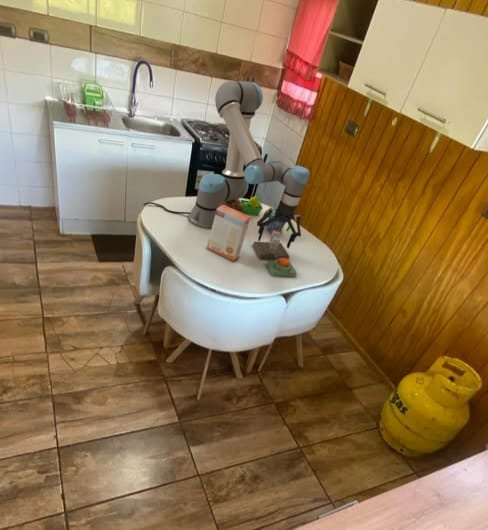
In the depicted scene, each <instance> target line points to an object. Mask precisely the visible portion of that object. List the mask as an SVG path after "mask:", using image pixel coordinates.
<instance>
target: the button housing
mask: <svg viewBox="0 0 488 530" xmlns="http://www.w3.org/2000/svg"><path fill="white" fill-rule="evenodd" d="M266 261H267V262H266V264H265V265H266V268H267V269H268V270H269V273H270V275H271V276H272V277H293V278H294V277H296V276H297V273H298V272H297V270H296V269H295V267H294V266H293V265H292V263H291V262H289V265H288V267H283V266H281V265H279V264H278V262H279V259H276V260H266Z"/></svg>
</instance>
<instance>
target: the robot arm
mask: <svg viewBox="0 0 488 530" xmlns="http://www.w3.org/2000/svg"><path fill="white" fill-rule="evenodd" d="M263 99H264V96H263V91H262V88H261V87H260V85H259V84H258V83H256V82H253V81H243V80H241V81H240V80H227V81H224V82H223V83H221V85H219V87H218V89H217V90H216V93H215V97H214V100H215V101H214V102H215V103H214V104H215V108H216V111H217V113H218V115H219V117H220V118H221V119H223V120H224V123H225V125H226V128H227V129H228V131H229V140H228V147H227V154H226V155H227V156H226V161H225V163H226V164H225V168H224V169H223V170H222V171H221V174H218V173H206V174H203V176H202V177H201V179H200V182H199V184H198V190H197V195H196V199H195V204H194V206H193V207H192V209H191V210H190V212H189V211H175V210H170V209H168V208H166V207H165V206H164V205H162V204H159V203H157V202H151V201H149V202H144V203H143V204H142V205H143V206H146V205H154V206H158V207H161V208H162V209H164V210H165V211H166V212H168V213H172V214H180V215H182V214H183V215H184V214H185V215H188V219H189V221H190V222H191V223H192V224H193V225H195V226H197V227H200V228H204V229H212V226H213V222H214V218H215V214H216V210H217V208H218V207H219V204H220V202H222V201H228V200H236V199H239V200H240V199H242V198H243V197H245V195H247V193H248V189H249V184H250V185H260V184H266V183H273V182H278V183H280V184H282V185H283V186H284V189H283V192H282V195H281V198H280V201H279V203H278V205H277V210H273V207H269V209H268V210H269V211H268V212H267V213H266V214H265V215H264V214H263V215H264V216H263V215H262V217H260V218H259V220H258V221H256V226H257V227H258V231H257V232H258V233H257V234H258V238H257V242H261V239H262V237H263V234H264V231H265V228H266V227H267V225H269V224H271V223H272V222H274V221H277V220H278V221H279V222H284V223H285V224H286V223H287V224H288V225H289V226H290V229H289V230H290V231H291V234H290V236H289V239H288V241H287V243H286V249H289V248H290V246H291V245H292V243H294V242H295V240H296V238H298V237H300V238H301V236H302V230H301V225H300V221H301V214H295V213H296V210H297V207H298V206H299V203H300V200H301V197H302V195H303V192H304V190H305V187H306V185H307V183H308V181H309V178H310V171H309V169H308V168H306V167H304V166H302V165H301V166H300V165H294V166H292V167H291V166H290V165H287V164H286V163H284V162H283V161H281V160H278V159H276V158H273V159H271V160H270V161H268V162H267V163H265V161H264V159H263V156H262V155H261V153H260V150H259V148H258V146H257V144H256V142H255V140H254V138H253V136H252V134H251V130H250V128H251V127H250V126H251V121H252V119H253V118H254V117H255V116H256V111H257V110H259V108H260V107H261V106H262V104H263ZM244 166H245V169H244ZM273 213H275V215H274V216H273V217H272V218H270V219H268V217H269V216H270V215H271V214H273ZM292 220H295V221H296V228H297V231H296V229H295V226H294V224H293V222H292ZM132 259H135V252H132Z"/></svg>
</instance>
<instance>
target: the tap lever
mask: <svg viewBox="0 0 488 530" xmlns="http://www.w3.org/2000/svg"><path fill="white" fill-rule="evenodd" d="M268 242H269V253H271V254H275V253H276V250H277V248H278V245H279V243H281V232H280V231H278V230H273V232H271V236H270V238H269V241H268Z"/></svg>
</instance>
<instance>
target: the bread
mask: <svg viewBox="0 0 488 530" xmlns="http://www.w3.org/2000/svg"><path fill="white" fill-rule="evenodd" d="M222 205H226V206H228V207H230V208H232V209H234V210H237V211H239V212H241V213H242V209H243V206H242V203H241V199H240V198H239V199H236V200H228V201H222V202H220V204H219V207H220V206H222Z"/></svg>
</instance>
